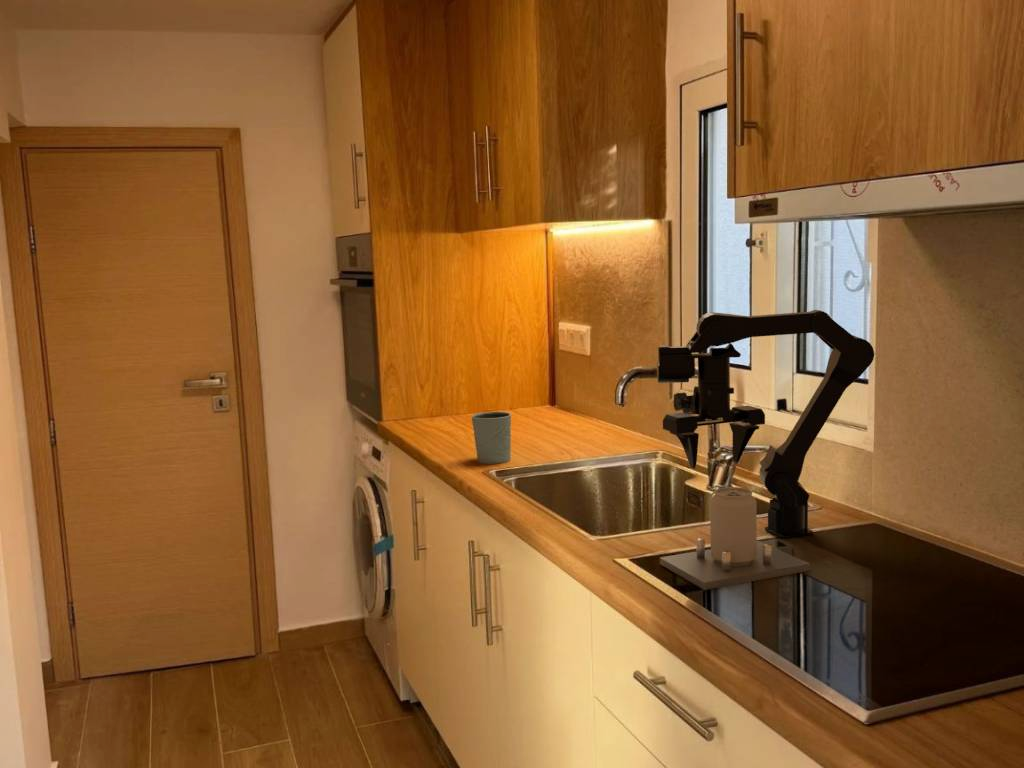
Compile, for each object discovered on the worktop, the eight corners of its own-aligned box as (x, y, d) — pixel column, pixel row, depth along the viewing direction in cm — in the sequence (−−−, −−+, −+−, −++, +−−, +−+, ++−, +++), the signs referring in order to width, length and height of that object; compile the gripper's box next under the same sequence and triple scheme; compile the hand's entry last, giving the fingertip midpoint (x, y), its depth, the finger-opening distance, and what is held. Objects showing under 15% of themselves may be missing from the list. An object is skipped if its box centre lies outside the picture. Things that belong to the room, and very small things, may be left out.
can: (711, 567, 160) (710, 496, 158) (709, 553, 167) (709, 484, 166) (758, 568, 159) (758, 496, 157) (754, 553, 166) (754, 484, 165)
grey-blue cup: (516, 462, 249) (514, 416, 247) (477, 466, 247) (475, 419, 245) (508, 454, 258) (506, 410, 257) (470, 458, 256) (468, 413, 255)
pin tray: (759, 547, 173) (759, 523, 173) (809, 570, 160) (809, 544, 160) (660, 564, 166) (659, 539, 166) (704, 590, 153) (704, 563, 153)
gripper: (732, 373, 189) (732, 451, 192) (647, 380, 183) (648, 462, 185) (766, 379, 179) (766, 462, 181) (677, 388, 173) (679, 474, 175)
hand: (714, 465), depth 181 cm, fingers open, 9 cm apart
